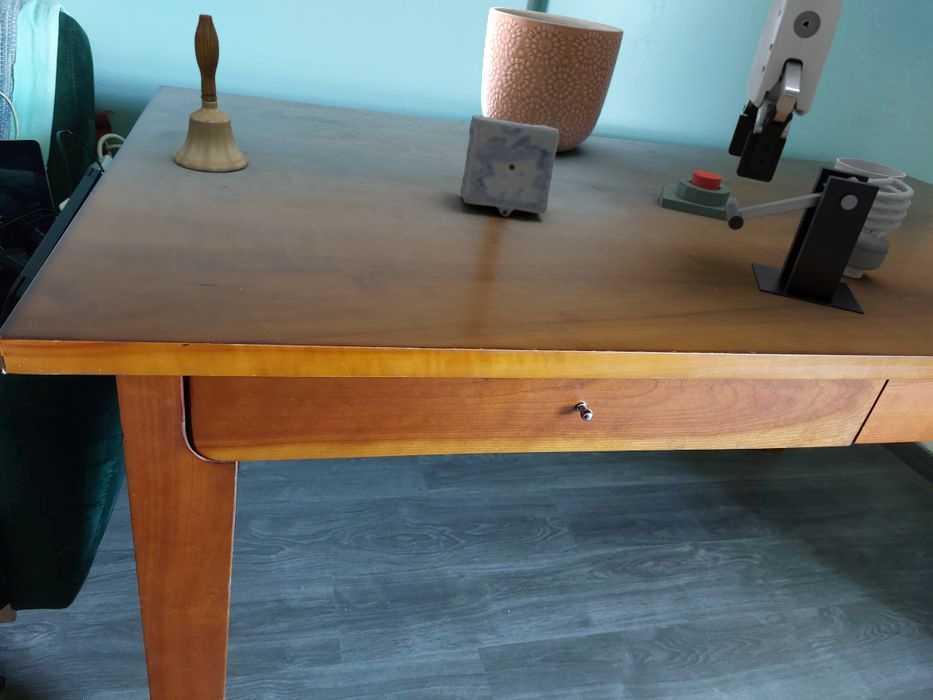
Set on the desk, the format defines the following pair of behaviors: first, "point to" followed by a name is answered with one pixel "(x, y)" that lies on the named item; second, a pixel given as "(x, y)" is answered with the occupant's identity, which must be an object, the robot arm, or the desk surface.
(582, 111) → the planter
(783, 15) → the robot arm
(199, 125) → the hand bell
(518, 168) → the incense holder
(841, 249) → the bracket
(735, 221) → the lever
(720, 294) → the desk surface
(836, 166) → the cup
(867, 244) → the light bulb
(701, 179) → the button
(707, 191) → the button box
